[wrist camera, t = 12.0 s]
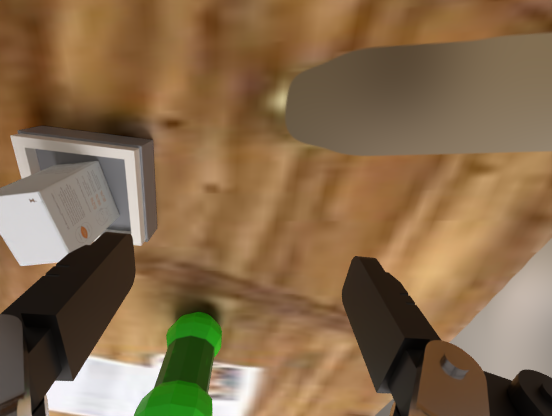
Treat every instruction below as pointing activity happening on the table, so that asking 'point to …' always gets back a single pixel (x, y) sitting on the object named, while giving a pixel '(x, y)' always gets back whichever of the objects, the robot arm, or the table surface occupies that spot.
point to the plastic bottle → (185, 369)
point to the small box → (55, 212)
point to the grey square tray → (114, 163)
